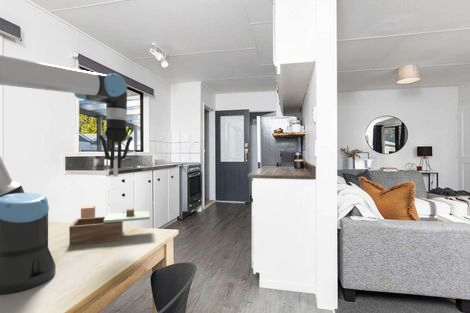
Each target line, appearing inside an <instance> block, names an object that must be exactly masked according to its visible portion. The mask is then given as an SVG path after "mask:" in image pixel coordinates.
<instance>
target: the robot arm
mask: <svg viewBox="0 0 470 313" xmlns="http://www.w3.org/2000/svg"><path fill="white" fill-rule="evenodd" d="M0 86H8V87H17V88H18V87H19V88H27V89H36V90H44V91H45V90H46V91H53V92H62V93H72V94H74V96H75V98H76V99H78V100H79V99H80V100H84V101H89V102H90V101H91V102H97V103H101V104H106V118H107V120H106V130H105V132H104V133H103V134H102V135H99V136H98V138H99V139H100V141H101V143H102V149H103V151H104V152H103V153H104V155H105V159H107V160H110V168H111V169H113V170H112V171H113V172H112V174H113V175H112V176H113V177H118V175H119V174H118V173H119V169H121V168H122V160H126V158H127V155H128V151H129V148H130V143H131V142H132V141H133V136H131V135H129V134H128V131H127V124H128V123H127V121H126V120H127V117H128V116H127V113H128V112H127V110H128V109H127V108H128V103H127V102H128V86H127V84H126V81H125V79H124V78H123V77H122V76H121V75H120V74H118V73H108V74H103V73H99V72H98V73H97V72H91V71H87V70H81V69H78V68H77V69H76V68H70V67H67V66H66V67H65V66H60V65H54V64H50V63H43V62H39V61H35V60H34V61H33V60H26V59H22V58H18V57H13V56H11V57H10V56H5V55H0ZM106 139H108V140H109V141H110V153H109V149H108V145H107V141H106ZM124 139H126V144H125V148H124V149H123V152H122V142H123V141H124ZM116 143H117V160H115V152H116V151H115V150H116V149H115V148H116ZM122 153H123V154H122ZM49 209H50V206H49V202H48V198H47V196H45V195H43V194H40V193H33V192H25V191H24V188H23V186H22V184H21V183H20V182H17V181H14V180H12V178H11V176H10V174H9V171H8V169H7V167H6V165H5V163H4V161H3V159H2V156H0V295H4V294H12V293H17V292H22V291H25V290H29V289H31V288H35V287H37V286H40V285H42V284H44V283H46V282H47V281H49V280H50V279H51V278H53V277H54V276H55V275H56V270H57V269H56V266H57V265H56V262H55V260H54V258H53V256H52V252H51V251H50V248H49Z"/></svg>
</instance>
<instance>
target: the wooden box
mask: <svg viewBox="0 0 470 313" xmlns="http://www.w3.org/2000/svg"><path fill="white" fill-rule="evenodd" d="M104 218H105V216H100V217H99V216H97V217H96V216H95V218H82V219H81V218H76V219H75V220H74V221H73V222H72V223H71V224H70V226H69V230H68V232H69V235H68V236H69V241H68V242H69V246H73V245H74V246H77V245H83V244H84V245H85V244H92V243H94V244H95V243H103V242H104V243H105V242H111V241H112V242H113V241H120V240H121V241H122V238H123V232H124V227H123V226H124V221H122V222H110V223H104Z"/></svg>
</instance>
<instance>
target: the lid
mask: <svg viewBox="0 0 470 313" xmlns="http://www.w3.org/2000/svg"><path fill="white" fill-rule="evenodd" d="M104 217H105V218H104V223H110V222H122V221H123V222H131V221H133V222H134V221H146V220H150V218H151V215H150V212H149V210H144V211H142V210H140V211H135V208H133V207H132V208H126V212H115V213H113V212H112V213H106V214H105V215H104Z"/></svg>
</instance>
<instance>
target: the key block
mask: <svg viewBox="0 0 470 313" xmlns="http://www.w3.org/2000/svg"><path fill="white" fill-rule="evenodd" d="M95 217H96V205H84V206H82V207H81V208H80V219H82V218H95Z"/></svg>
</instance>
